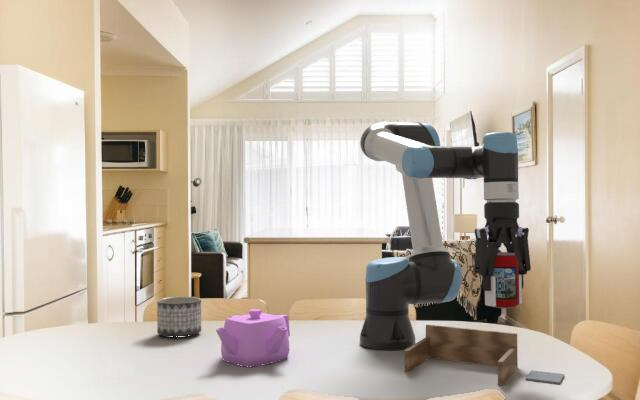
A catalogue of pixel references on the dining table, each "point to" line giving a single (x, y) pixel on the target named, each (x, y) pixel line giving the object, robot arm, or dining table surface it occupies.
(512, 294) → the beverage can
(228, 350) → the teakettle
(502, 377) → the partition
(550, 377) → the mat
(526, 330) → the dining table surface
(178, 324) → the planter
